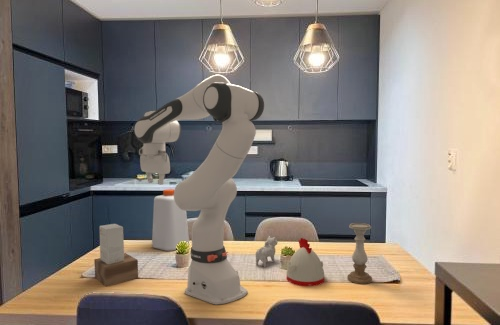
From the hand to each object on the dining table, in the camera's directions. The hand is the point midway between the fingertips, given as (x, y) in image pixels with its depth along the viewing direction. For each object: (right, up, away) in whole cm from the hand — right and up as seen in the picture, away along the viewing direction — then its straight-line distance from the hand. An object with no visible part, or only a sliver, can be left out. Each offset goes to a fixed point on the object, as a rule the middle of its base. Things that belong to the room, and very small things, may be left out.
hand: (155, 183), depth 153 cm
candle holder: (+80, -35, -18) cm, 89 cm away
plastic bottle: (0, -33, +28) cm, 43 cm away
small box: (-12, -28, -15) cm, 34 cm away
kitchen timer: (+60, -35, -17) cm, 71 cm away
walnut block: (-11, -35, -13) cm, 39 cm away
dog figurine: (+47, -34, +2) cm, 58 cm away
